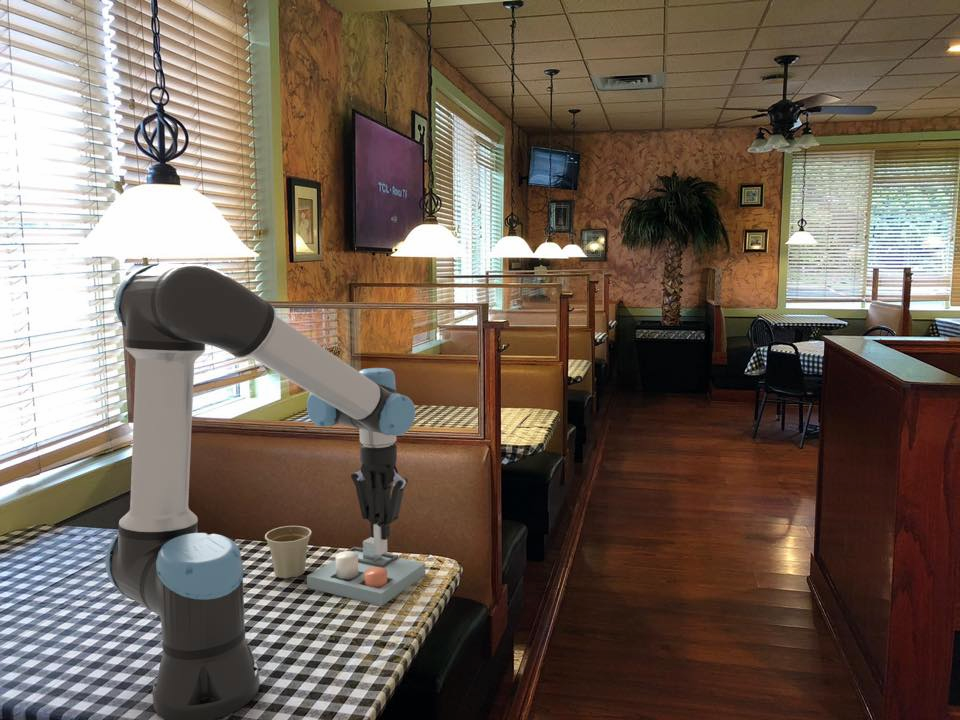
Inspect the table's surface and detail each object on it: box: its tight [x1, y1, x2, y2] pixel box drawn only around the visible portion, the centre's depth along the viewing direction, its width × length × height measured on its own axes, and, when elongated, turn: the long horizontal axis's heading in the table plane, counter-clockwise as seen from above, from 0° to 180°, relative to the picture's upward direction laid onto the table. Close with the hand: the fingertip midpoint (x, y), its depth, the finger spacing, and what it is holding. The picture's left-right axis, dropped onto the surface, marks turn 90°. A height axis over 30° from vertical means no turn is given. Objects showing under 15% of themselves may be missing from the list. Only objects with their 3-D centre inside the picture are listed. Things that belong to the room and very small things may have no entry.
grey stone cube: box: [362, 536, 382, 562], centre depth 157 cm, size 3×3×4 cm
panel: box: [306, 546, 426, 607], centre depth 152 cm, size 16×18×3 cm
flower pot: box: [264, 525, 312, 580], centre depth 156 cm, size 9×9×9 cm
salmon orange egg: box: [365, 567, 387, 589], centre depth 146 cm, size 4×4×4 cm
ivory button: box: [335, 550, 358, 579], centre depth 149 cm, size 4×4×4 cm
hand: (380, 552), depth 156 cm, fingers closed
